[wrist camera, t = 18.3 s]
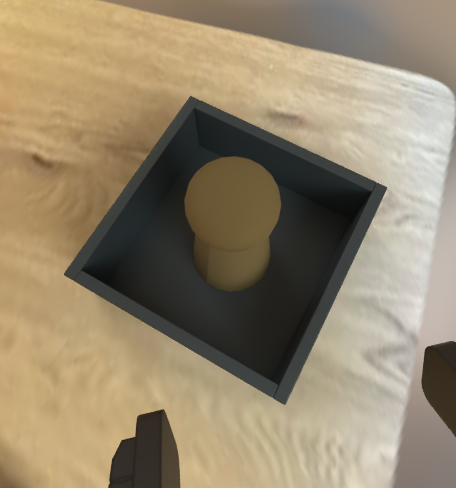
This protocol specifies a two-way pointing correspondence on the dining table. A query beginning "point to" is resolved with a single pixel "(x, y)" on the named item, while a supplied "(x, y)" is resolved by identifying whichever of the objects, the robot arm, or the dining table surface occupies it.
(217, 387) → the dining table surface
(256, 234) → the cork
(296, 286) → the bin
